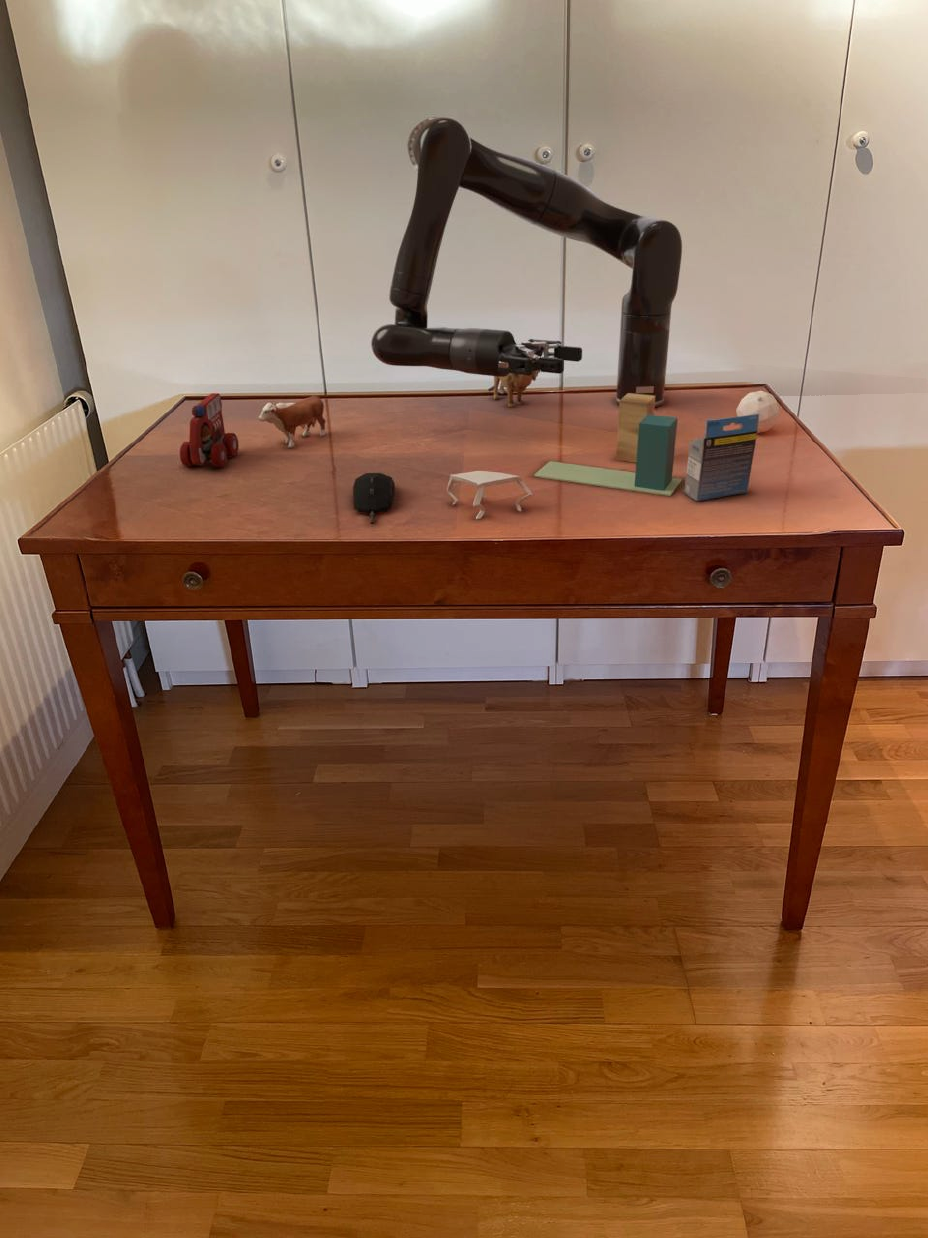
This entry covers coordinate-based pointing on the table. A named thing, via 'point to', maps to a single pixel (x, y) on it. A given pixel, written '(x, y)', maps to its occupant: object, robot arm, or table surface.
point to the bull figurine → (295, 416)
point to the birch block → (631, 423)
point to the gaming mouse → (373, 493)
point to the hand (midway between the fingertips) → (572, 360)
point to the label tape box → (721, 459)
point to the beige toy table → (485, 485)
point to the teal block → (655, 452)
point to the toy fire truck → (208, 435)
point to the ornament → (760, 409)
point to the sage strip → (599, 477)
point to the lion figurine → (512, 386)
